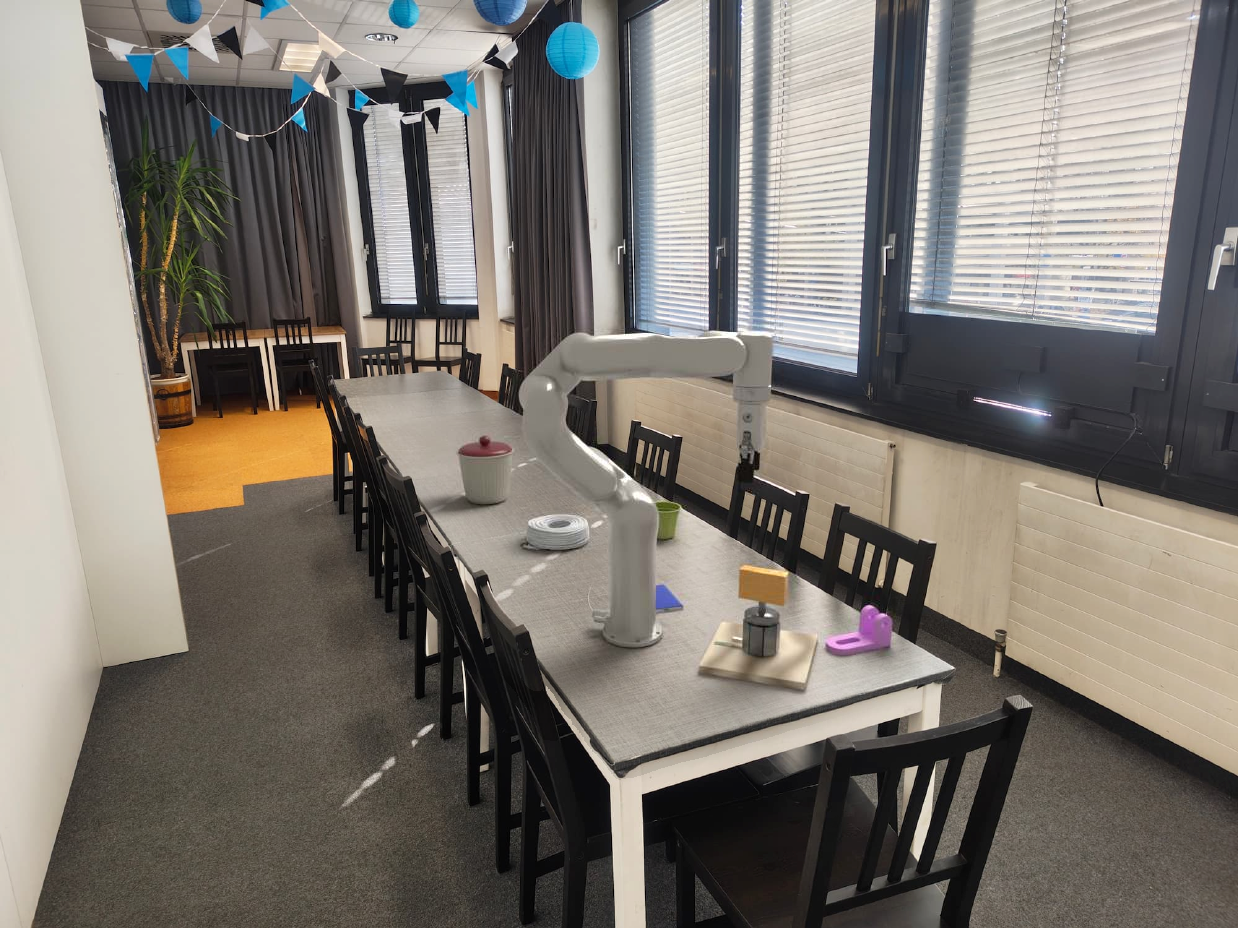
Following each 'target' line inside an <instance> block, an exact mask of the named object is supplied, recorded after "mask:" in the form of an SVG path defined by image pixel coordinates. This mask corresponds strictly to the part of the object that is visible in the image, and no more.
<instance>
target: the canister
mask: <svg viewBox="0 0 1238 928" xmlns="http://www.w3.org/2000/svg"><path fill="white" fill-rule="evenodd" d="M514 451H515V448H514V447H513V446H511V445H509V444H508V443H505V442H501V441H491V438H490V436H489V435H482V436H480V437H479V440H478V441H476V442H470V443H467V444H464V445H462V446H461V447H459V448H458V449H457V450H456V451H455V454H456V455H457V456H458V461H459V467H460V472H461V479H462V484H463V489H464V493H465V497H466V498H467V500H468V501H469V502H471V503H472V504H475V505H476V504H477V505H494V504H498V503H501V502H504V501H505V500H506V499H507V498H508V496H509V494H510V487H511V485H510V484H511V478H512V477H511V476H512V475H511V474H512V465H513V463H512V461H513V453H514Z"/></svg>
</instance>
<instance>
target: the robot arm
mask: <svg viewBox="0 0 1238 928" xmlns="http://www.w3.org/2000/svg"><path fill="white" fill-rule="evenodd" d="M773 341H774V339H773V336H772V334H771V333H769V332H766V331H761V330H747V331H740V332H729V331H722V330H721V331H720V330H709V331H705V332H703V333H701V334H700V335H698V336H697V337H679V336H678V337H676V336H669V335H663V334H661V333H660V334H659V333H650V332H636V333H625V334H601V335H590V334H588V333H585V332H574V333H572V334H570V335H568V336H566V337H565V338H564V339H563V340H562V341H560V342H559V344H557V346H556V347H555V348H554V349H553V350H552V351H551V352H550V353H549V354H548V355H547V356H545V358H544V359H543V360H542V361H541V362H540V363H539V364H538V365H537V366H536V367H535V368H534V369H533V370H532V371H531V372H530V373H529V374H528V375H527V376H526V377H525V379H524V380H523V381H522V383H521V385H520V387H519V390H518V400H519V404H520V406H521V408H522V410H523V412H522V423H521V430H522V437H523V441H524V443H525V445H526V447H527V449H528V451H529V452H530V453H531V455H532V456H533V457H534V458H535V459H536V460H537V461H538V462H539V463H541V464H542V465H543V466H544V467H545V468H546V469H547V470H548V471H550V472H551V473H552V475H554V477H556V478H557V479H558V480H560V481H561V482H562V483H563V484H564V485H565V486H567V487H568V488H569V489H570V490H571V491H572V492H573V494H575V495H576V496H577V497H578V498H580V500H583V501H584V502H588V503H591V504H592V505H594V506H595V507H596V508H597V509H598V510H600V511H601V512H602V513H603V514H604V515H605V517H607V520H608V521H609V522H610V523H609V524H610V540H609V541H610V542H609V551H608V552H609V557H608V558H609V562H608V563H609V565H608V566H609V609H607V610H604V609H600V608H593V609H592V612H591V613H592V615H591V616H592V618H593V622H594V623H598V624H600V623H601V624H604V625H603V627H602V636H603V638H604V639H605V640H606V641H607V642H608V643H610V644H613V645H615V646H618V647H623V648H643V647H648V646H650V645H651V646H652V645H653V644H656V643H657V642H659V641H660V640H661V639H662V638H663V634H664V629H663V626H662V625H661V624H660V623H659V622H658V621H656V615H657V613H656V585H657V578H656V577H657V573H656V572H657V540H658V538H657V534H658V527H659V514H658V509H657V507H656V504H655V503H654V502H655V501H654V499H652V497H651V496H650V495H649V494H648V492H647V491H646V490H645V489H644V488H642V486H641V485H640V483H638V482H637V481H636V480H634V479H633V478H632V477H631V476H630V475H628V473H627V472H625V471H624V470H623V469H622V468H620V467H619V466H618V465H617V464H616V463H615V462H614V461H612V460H611V459H610V458H609V457H608V456H607V455H606V454H604V452H602V451H600V450H599V449H597V448H595V447H592V446H588V445H587V444H586V443H585V442H584V441H582V440H581V438H579V437H578V436H577V435H576V434H575V433H573V431H571V430H570V428H569V427H568V425H567V422H566V419H567V418H566V417H567V413H568V409H569V408H568V407H569V400H568V395H569V394H570V393H571V391H572V390H574V389H575V387H576V386H578V384H580V382H581V381H584V382H585V381H587V382H592V381H593V382H597V381H610V380H611V381H612V380H613V381H614V380H625V379H628V380H629V379H642V378H653V379H655V378H657V379H663V378H664V379H665V378H667V379H668V378H669V379H670V378H673V379H676V378H678V379H679V378H680V379H681V378H683V379H684V378H690V379H692V378H695V379H696V378H711V377H725V376H730V375H733V380H732V381H733V382H732V384H733V385H732V402H733V403H737V415H736V416H737V417H736V418H737V419H736V420H737V421H736V449H737V451H738V452H739V454H738V462H737V475H736V476H737V477H736V478H737V479H736V481H737V482H738V483H743V484H744V483H746V484H747V483H748V484H753V483H754V479H755V471H760V467H761V465H760V464H761V463H760V462H761V452H763V449H764V447H765V445H766V443H767V442H766V441H767V438H766V437H767V435H766V434H767V433H766V431H767V430H766V429H767V407H766V406H767V404H768V403H771V394H772V393H771V391H772V372H773V371H772V369H773V367H772V366H773V346H774V342H773Z"/></svg>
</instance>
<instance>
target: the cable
mask: <svg viewBox="0 0 1238 928" xmlns="http://www.w3.org/2000/svg"><path fill="white" fill-rule="evenodd" d="M525 534H526V540H523V541H521V542H520V543H521V545H522V548H523V549H526V548H527V550H539V549H550V550H551V551H562V550H563V551H564V550H570V549H571V548H572V549H576V548H580V547H583V546H584V545H586V544H587V543H588V542H589V539H590V529H589V522H588V520H587V519H586V518H584V517H582V516H579V515H575V514H574V515H573V514H549V515H544V516H539V517H535V518H531V519H530V520H528V521H527V528H526V533H525ZM527 544H528V545H527ZM572 549H571V550H572Z"/></svg>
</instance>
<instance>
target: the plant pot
mask: <svg viewBox="0 0 1238 928" xmlns="http://www.w3.org/2000/svg"><path fill="white" fill-rule="evenodd" d="M654 503H655V504H656V507H657V509H658V514H659V527H658V534H657V539H659V540H668V539H671V538H674V537H676V529H677V523H678V518H679V514H680V511H681V510H682V506H681V504H679V503H677V502H673V501H666V500H663V501H654Z"/></svg>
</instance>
